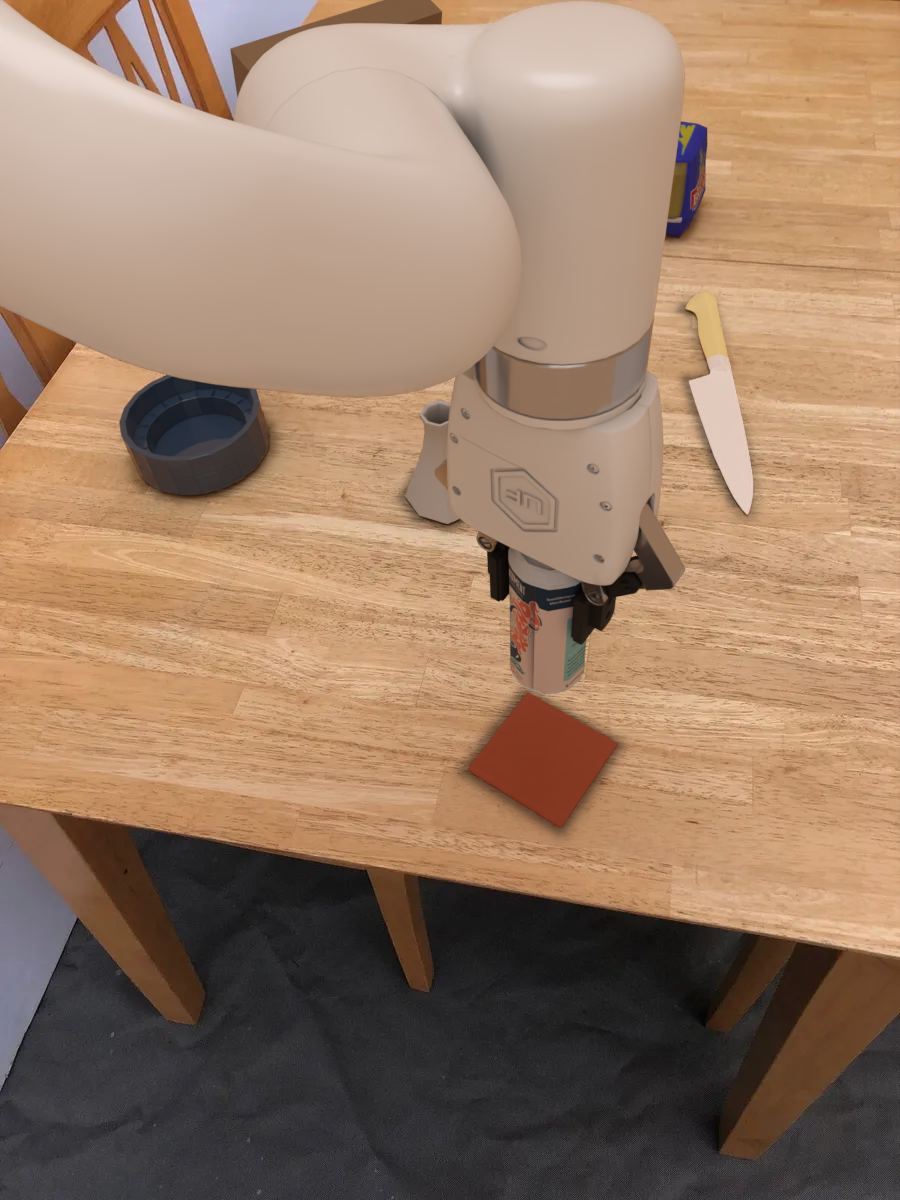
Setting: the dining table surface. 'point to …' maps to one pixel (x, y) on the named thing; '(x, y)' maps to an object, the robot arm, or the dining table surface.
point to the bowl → (194, 434)
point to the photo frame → (398, 6)
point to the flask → (432, 466)
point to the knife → (721, 403)
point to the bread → (687, 178)
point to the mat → (543, 759)
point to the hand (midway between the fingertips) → (549, 602)
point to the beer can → (542, 626)
